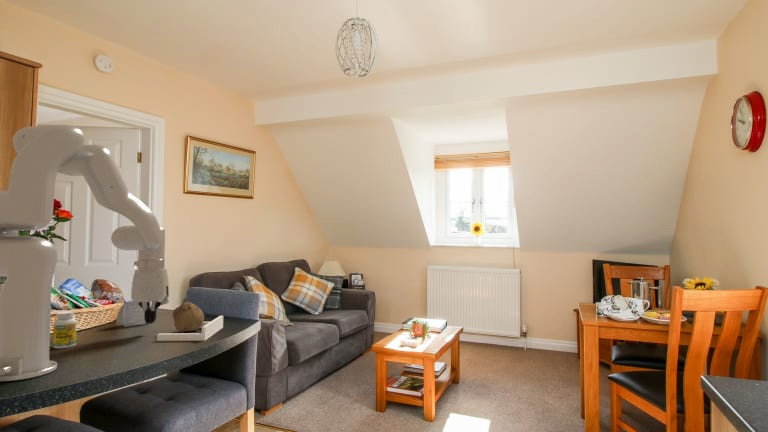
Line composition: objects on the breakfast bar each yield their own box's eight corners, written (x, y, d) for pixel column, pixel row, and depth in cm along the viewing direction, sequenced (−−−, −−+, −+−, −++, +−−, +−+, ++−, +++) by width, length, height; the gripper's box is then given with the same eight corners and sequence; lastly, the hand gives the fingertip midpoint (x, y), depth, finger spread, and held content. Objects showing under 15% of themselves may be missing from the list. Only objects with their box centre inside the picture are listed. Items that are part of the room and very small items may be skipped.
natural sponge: (163, 331, 143) (193, 342, 145) (167, 314, 138) (198, 326, 140) (177, 310, 151) (205, 321, 152) (181, 294, 146) (210, 305, 147)
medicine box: (147, 322, 160) (148, 298, 161) (150, 324, 157) (151, 299, 157) (122, 325, 155) (123, 300, 156) (125, 327, 152) (125, 301, 152)
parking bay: (205, 340, 134) (205, 327, 134) (157, 341, 133) (157, 327, 133) (223, 327, 152) (223, 315, 152) (181, 327, 151) (181, 315, 151)
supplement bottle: (76, 343, 130) (77, 310, 131) (75, 347, 126) (76, 313, 126) (53, 345, 128) (54, 311, 128) (52, 349, 123) (53, 314, 123)
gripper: (121, 266, 138) (119, 325, 138) (170, 266, 139) (169, 325, 139) (133, 264, 146) (131, 320, 145) (180, 264, 147) (178, 320, 146)
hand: (150, 322), depth 142 cm, fingers closed
